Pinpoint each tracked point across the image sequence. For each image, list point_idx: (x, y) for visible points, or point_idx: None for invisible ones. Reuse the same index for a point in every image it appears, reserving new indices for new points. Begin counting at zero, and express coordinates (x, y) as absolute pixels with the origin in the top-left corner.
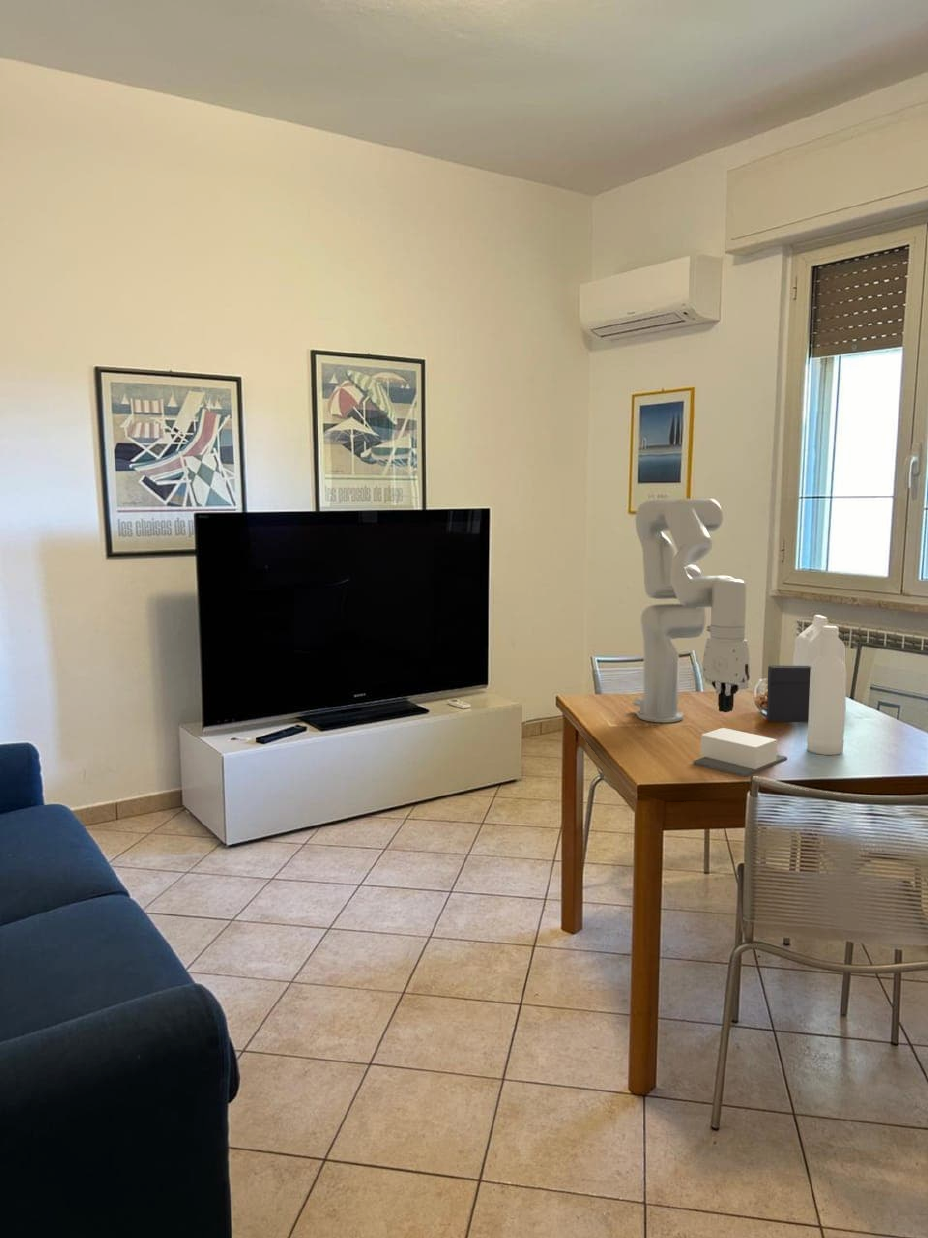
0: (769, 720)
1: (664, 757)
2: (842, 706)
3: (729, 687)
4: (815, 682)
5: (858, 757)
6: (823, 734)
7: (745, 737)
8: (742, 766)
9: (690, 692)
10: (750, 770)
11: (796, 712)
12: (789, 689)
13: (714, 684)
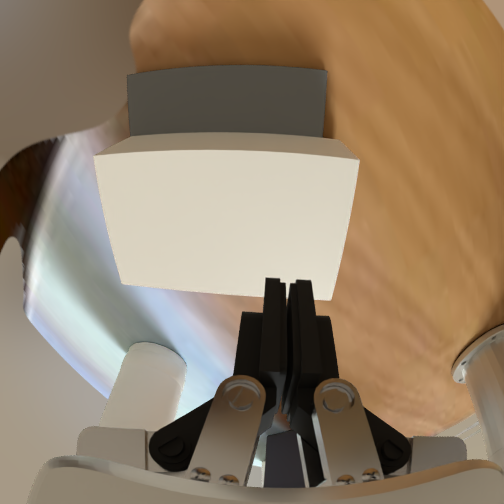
0: None
1: (428, 83)
2: None
3: (211, 445)
4: None
5: (106, 352)
6: (127, 374)
7: (196, 244)
8: (172, 131)
9: (443, 430)
10: (134, 116)
11: (283, 445)
12: (292, 475)
13: (387, 448)
